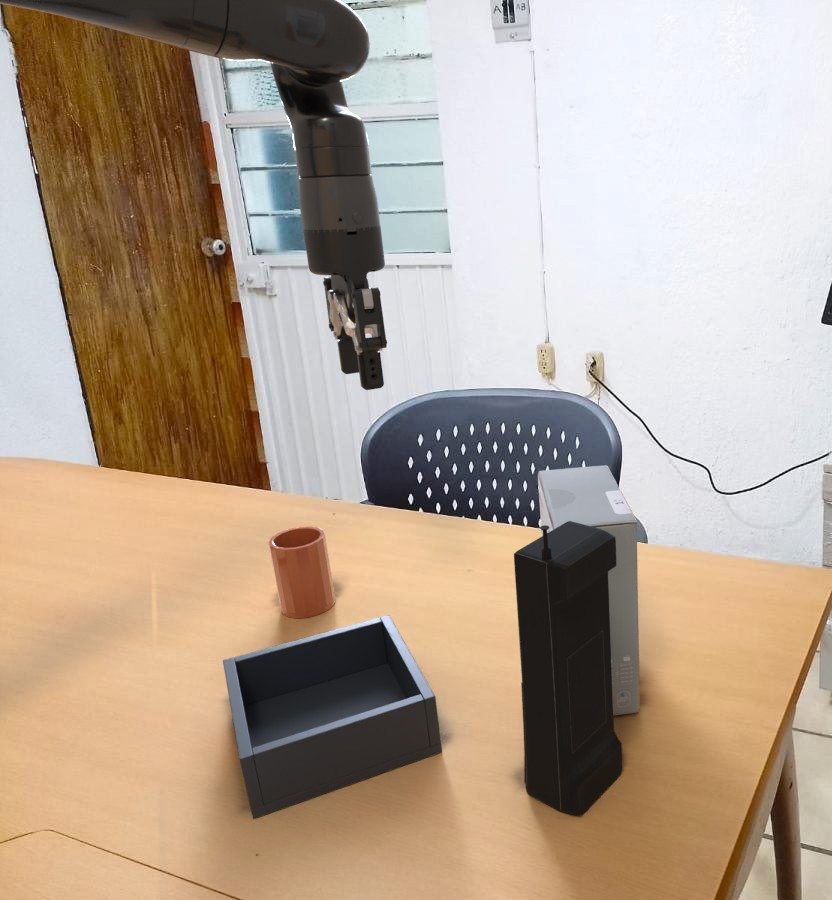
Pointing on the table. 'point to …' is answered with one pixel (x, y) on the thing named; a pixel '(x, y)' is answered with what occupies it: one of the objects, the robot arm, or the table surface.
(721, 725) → the table surface
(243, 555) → the table surface
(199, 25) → the robot arm
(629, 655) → the hard drive box
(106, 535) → the table surface
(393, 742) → the open box
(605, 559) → the portable radio
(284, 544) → the pot
